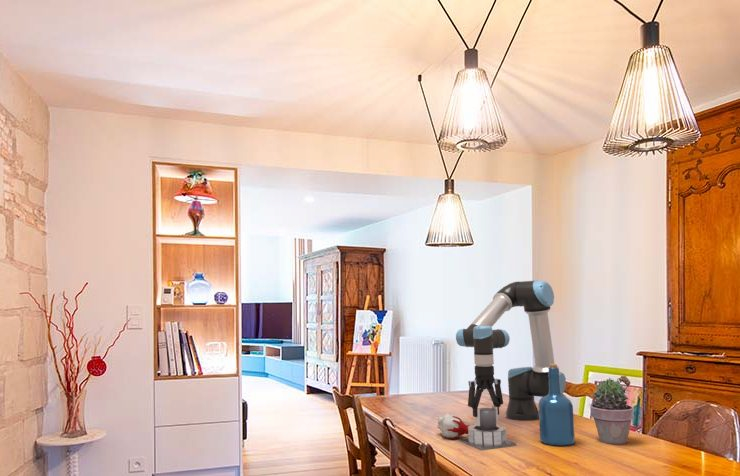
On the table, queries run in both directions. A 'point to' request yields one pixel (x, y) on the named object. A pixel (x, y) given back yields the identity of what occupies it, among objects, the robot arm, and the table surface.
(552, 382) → the wine bottle
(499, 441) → the square flange collar
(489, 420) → the cap
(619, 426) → the potted plant
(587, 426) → the table surface
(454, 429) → the candle
